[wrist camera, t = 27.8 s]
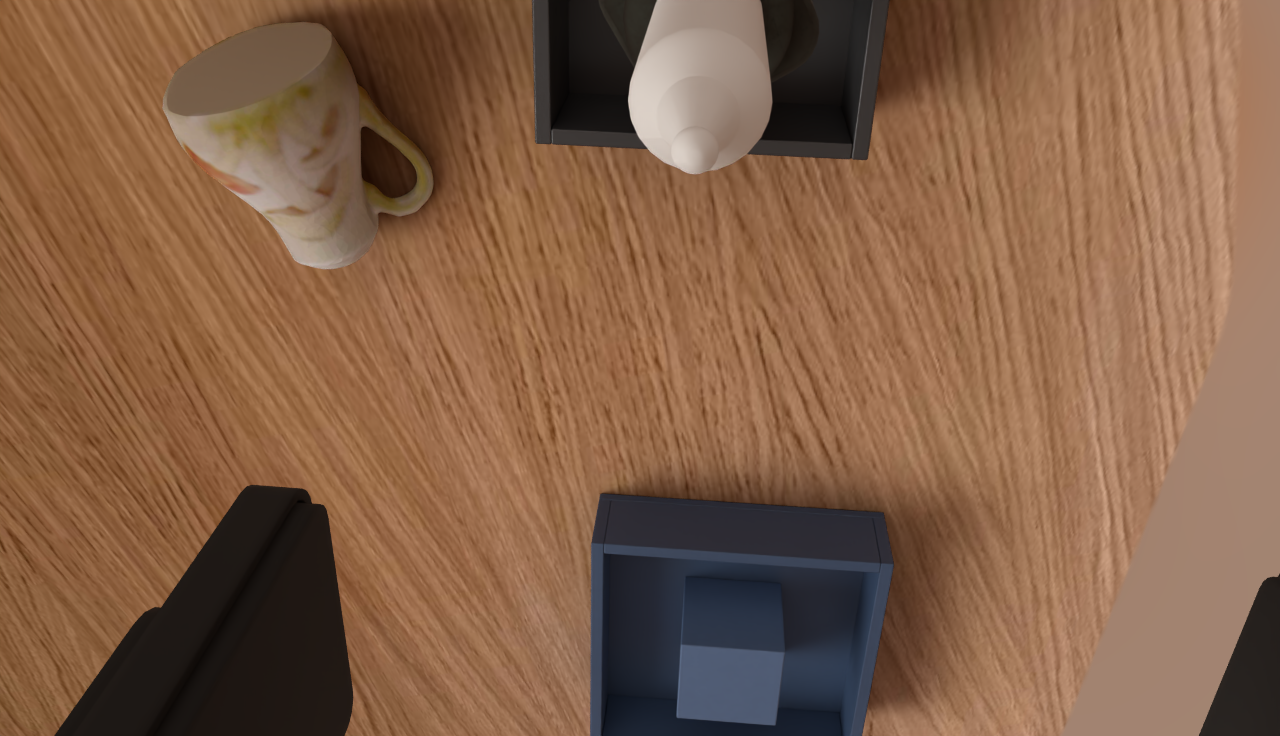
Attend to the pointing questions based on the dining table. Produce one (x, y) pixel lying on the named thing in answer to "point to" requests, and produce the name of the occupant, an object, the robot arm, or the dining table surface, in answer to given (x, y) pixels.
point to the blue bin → (745, 551)
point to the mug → (291, 137)
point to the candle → (708, 71)
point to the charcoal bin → (801, 100)
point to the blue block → (731, 651)
